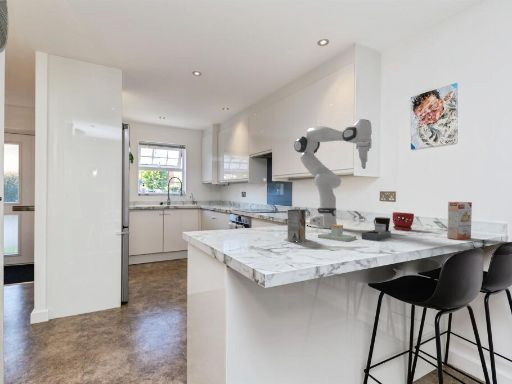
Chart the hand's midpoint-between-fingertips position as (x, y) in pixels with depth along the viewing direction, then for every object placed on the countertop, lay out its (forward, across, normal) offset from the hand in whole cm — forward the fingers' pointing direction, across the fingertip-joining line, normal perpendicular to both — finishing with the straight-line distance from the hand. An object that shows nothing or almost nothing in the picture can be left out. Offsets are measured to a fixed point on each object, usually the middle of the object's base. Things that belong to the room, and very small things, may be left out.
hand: (363, 167), depth 169 cm
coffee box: (+41, +44, -30) cm, 67 cm away
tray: (+41, +29, -11) cm, 51 cm away
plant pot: (+41, -36, +24) cm, 59 cm away
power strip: (+41, +17, +8) cm, 45 cm away
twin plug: (+40, +12, +10) cm, 43 cm away
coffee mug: (+41, -8, +11) cm, 43 cm away
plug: (+40, +29, -11) cm, 51 cm away
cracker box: (+41, -9, +51) cm, 66 cm away
